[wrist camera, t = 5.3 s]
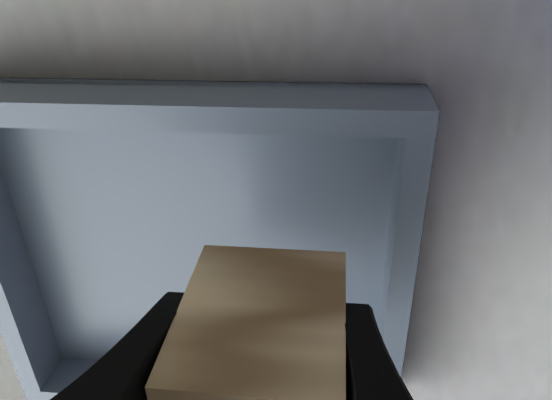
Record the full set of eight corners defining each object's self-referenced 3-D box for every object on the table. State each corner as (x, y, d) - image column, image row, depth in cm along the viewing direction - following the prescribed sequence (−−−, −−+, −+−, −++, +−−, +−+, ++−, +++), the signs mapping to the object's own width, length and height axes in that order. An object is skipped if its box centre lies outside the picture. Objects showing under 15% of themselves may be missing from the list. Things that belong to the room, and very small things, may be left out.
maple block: (345, 252, 14) (345, 404, 10) (339, 355, 16) (337, 520, 12) (204, 244, 14) (144, 387, 10) (215, 346, 16) (169, 501, 12)
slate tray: (426, 84, 16) (439, 111, 14) (387, 385, 22) (392, 436, 20) (-37, 77, 17) (-90, 100, 15) (56, 358, 24) (27, 402, 22)
